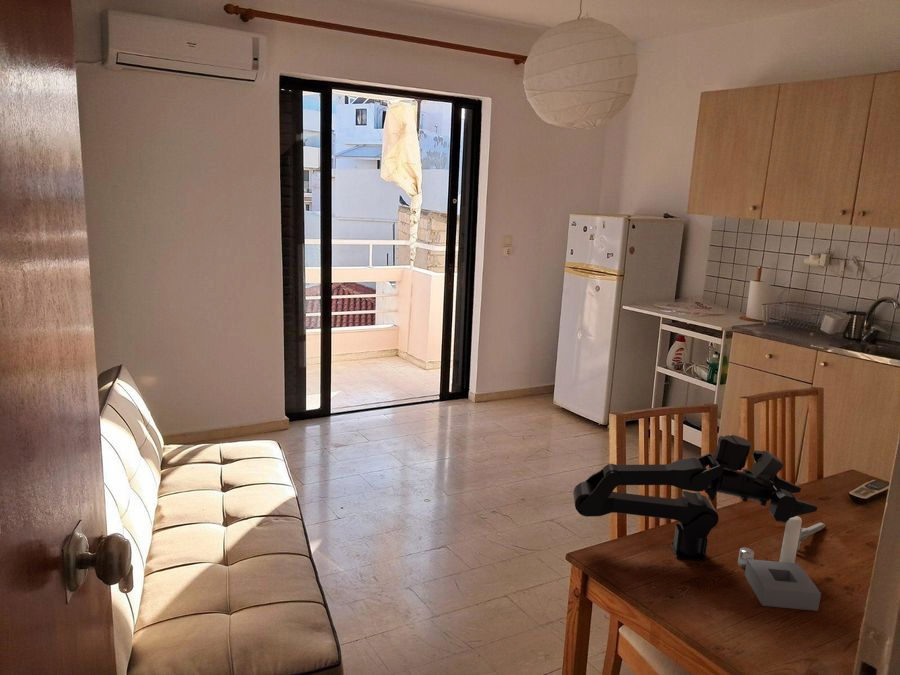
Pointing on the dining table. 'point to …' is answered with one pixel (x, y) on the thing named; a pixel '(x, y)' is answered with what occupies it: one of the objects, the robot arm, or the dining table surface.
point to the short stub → (745, 556)
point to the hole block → (782, 585)
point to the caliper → (809, 532)
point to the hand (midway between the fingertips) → (808, 499)
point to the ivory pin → (790, 540)
